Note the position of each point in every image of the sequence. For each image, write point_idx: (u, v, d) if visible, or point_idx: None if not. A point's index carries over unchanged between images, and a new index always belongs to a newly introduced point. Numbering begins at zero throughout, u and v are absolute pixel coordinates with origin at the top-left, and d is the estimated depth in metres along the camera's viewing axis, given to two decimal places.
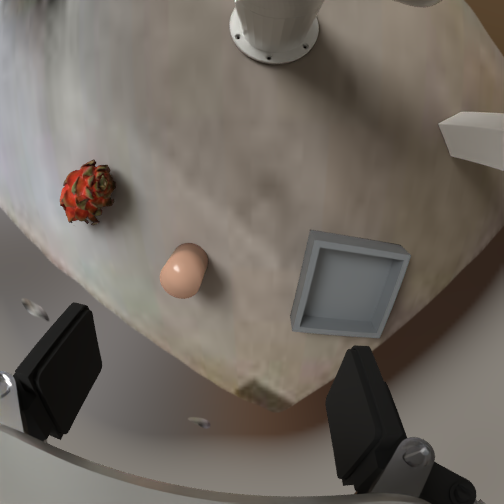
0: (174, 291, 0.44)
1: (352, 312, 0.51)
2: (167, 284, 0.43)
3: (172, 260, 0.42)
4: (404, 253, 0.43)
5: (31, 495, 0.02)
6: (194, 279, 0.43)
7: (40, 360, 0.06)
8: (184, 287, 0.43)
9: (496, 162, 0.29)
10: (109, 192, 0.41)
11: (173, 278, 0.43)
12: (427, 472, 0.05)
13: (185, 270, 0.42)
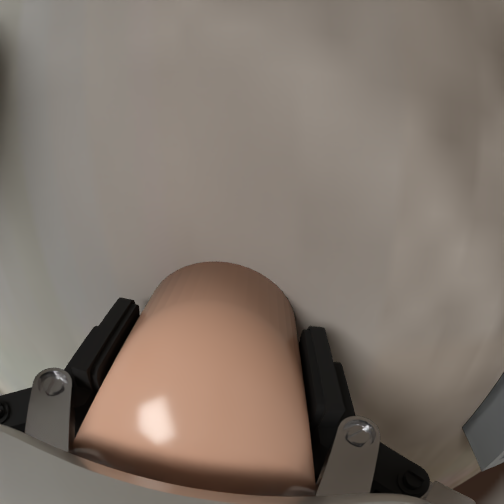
0: None
1: None
2: None
3: (125, 405, 0.05)
4: None
5: (31, 495, 0.02)
6: (281, 495, 0.05)
7: (96, 354, 0.07)
8: None
9: None
10: None
11: None
12: (376, 449, 0.06)
13: (226, 472, 0.05)
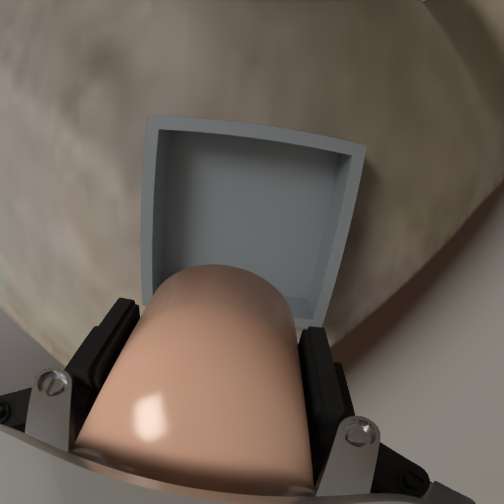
0: None
1: (265, 277, 0.28)
2: None
3: (126, 408, 0.05)
4: None
5: (31, 495, 0.02)
6: (280, 496, 0.05)
7: (96, 355, 0.07)
8: None
9: None
10: None
11: None
12: (375, 449, 0.06)
13: (225, 474, 0.05)
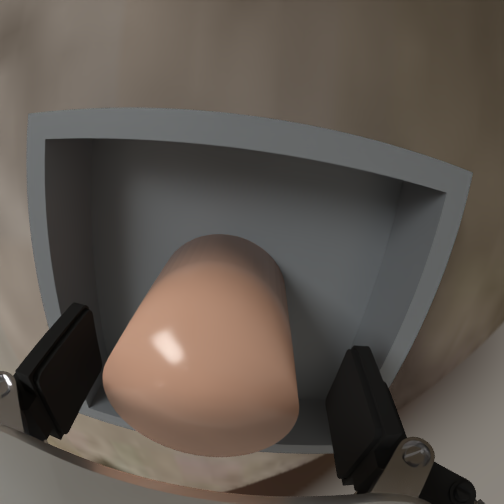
0: (176, 437, 0.09)
1: None
2: (141, 416, 0.08)
3: (153, 322, 0.08)
4: None
5: (31, 495, 0.02)
6: (270, 409, 0.08)
7: (40, 360, 0.07)
8: (220, 431, 0.09)
9: None
10: None
11: (165, 400, 0.08)
12: (427, 472, 0.05)
13: (227, 377, 0.07)
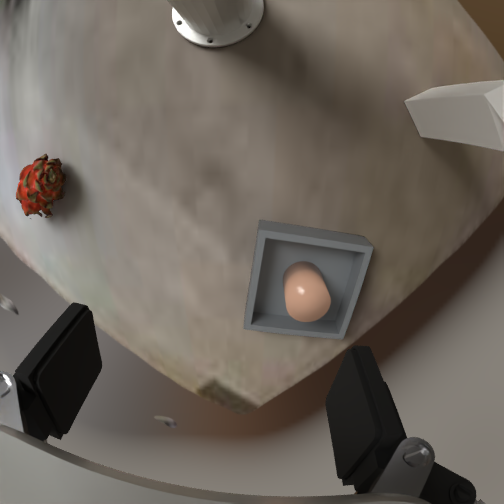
0: (300, 314, 0.41)
1: None
2: (293, 308, 0.40)
3: (303, 282, 0.39)
4: (365, 245, 0.41)
5: (31, 495, 0.02)
6: (324, 302, 0.40)
7: (40, 360, 0.07)
8: (312, 310, 0.40)
9: (467, 136, 0.26)
10: (59, 185, 0.39)
11: (302, 301, 0.40)
12: (427, 473, 0.05)
13: (317, 293, 0.39)
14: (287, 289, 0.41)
